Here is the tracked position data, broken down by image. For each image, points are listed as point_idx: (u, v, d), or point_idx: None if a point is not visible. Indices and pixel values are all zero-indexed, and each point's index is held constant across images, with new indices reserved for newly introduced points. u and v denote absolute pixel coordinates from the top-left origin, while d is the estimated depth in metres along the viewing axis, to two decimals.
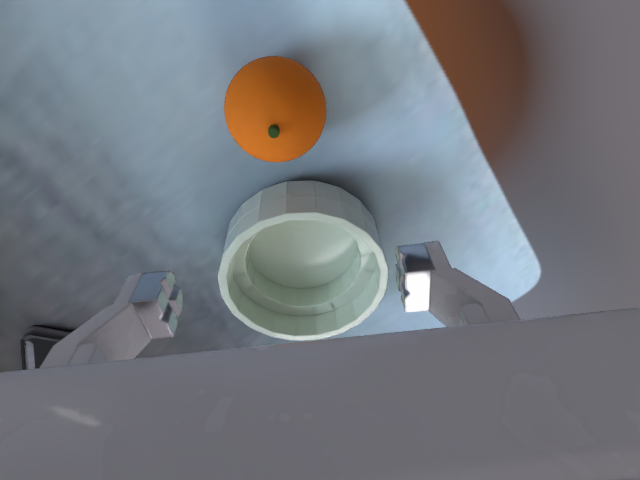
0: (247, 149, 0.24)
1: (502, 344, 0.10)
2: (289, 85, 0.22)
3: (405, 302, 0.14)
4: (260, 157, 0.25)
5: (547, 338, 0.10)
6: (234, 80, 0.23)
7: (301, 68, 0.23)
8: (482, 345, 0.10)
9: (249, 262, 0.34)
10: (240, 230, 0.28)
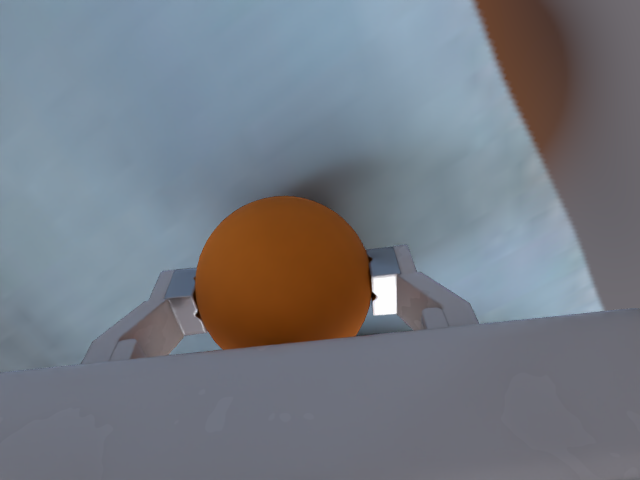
0: None
1: (502, 344, 0.10)
2: (310, 274, 0.12)
3: (373, 305, 0.14)
4: None
5: (547, 338, 0.10)
6: (210, 249, 0.13)
7: (331, 229, 0.13)
8: (482, 346, 0.10)
9: None
10: None
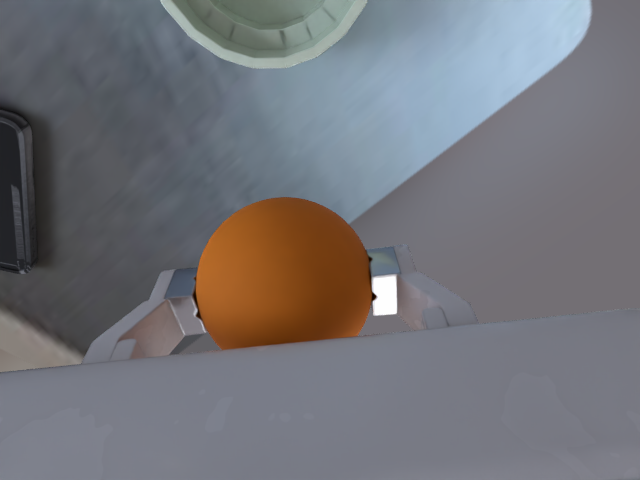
0: None
1: (502, 344, 0.10)
2: (311, 275, 0.12)
3: (373, 305, 0.14)
4: None
5: (547, 338, 0.10)
6: (211, 251, 0.13)
7: (332, 230, 0.13)
8: (482, 346, 0.10)
9: None
10: None
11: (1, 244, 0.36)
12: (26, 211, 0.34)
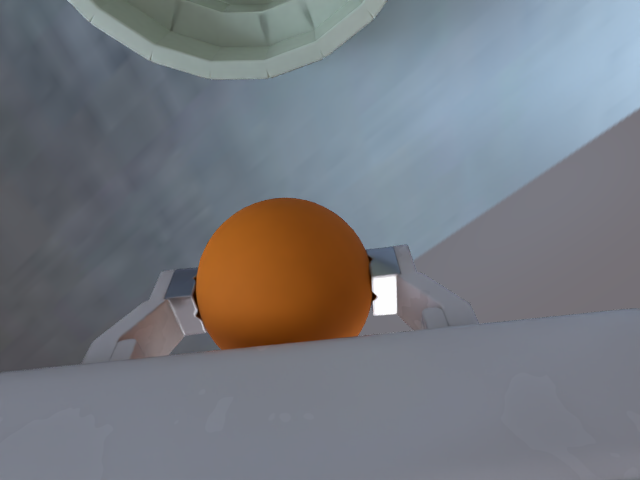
0: None
1: (502, 344, 0.10)
2: (311, 276, 0.12)
3: (373, 305, 0.14)
4: None
5: (547, 338, 0.10)
6: (211, 251, 0.13)
7: (332, 231, 0.13)
8: (482, 346, 0.10)
9: None
10: None
11: None
12: None
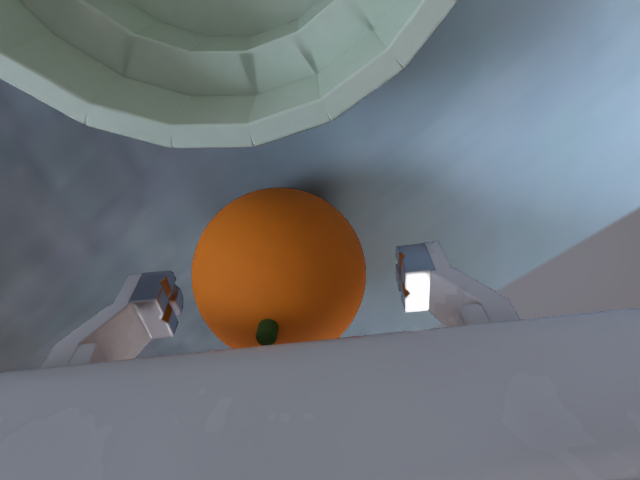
0: (225, 343, 0.14)
1: (502, 344, 0.10)
2: (300, 249, 0.12)
3: (405, 302, 0.14)
4: None
5: (547, 338, 0.10)
6: (208, 230, 0.13)
7: (325, 213, 0.13)
8: (482, 346, 0.10)
9: None
10: None
11: None
12: None
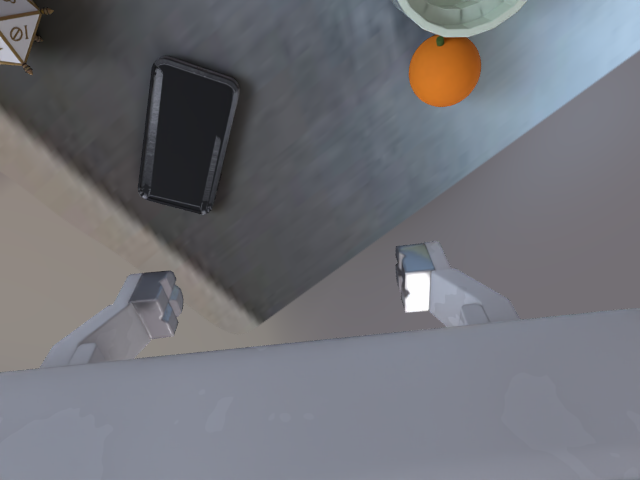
0: (419, 70, 0.35)
1: (502, 344, 0.10)
2: None
3: (405, 302, 0.14)
4: (427, 74, 0.35)
5: (547, 338, 0.10)
6: None
7: None
8: (482, 346, 0.10)
9: None
10: None
11: (193, 187, 0.45)
12: (221, 158, 0.43)
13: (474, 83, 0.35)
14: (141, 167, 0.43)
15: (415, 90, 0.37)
